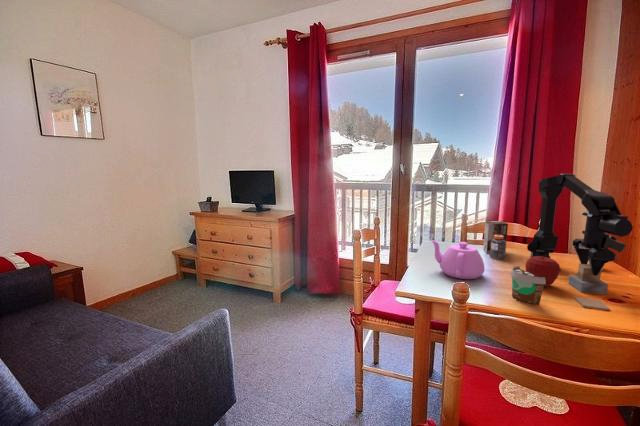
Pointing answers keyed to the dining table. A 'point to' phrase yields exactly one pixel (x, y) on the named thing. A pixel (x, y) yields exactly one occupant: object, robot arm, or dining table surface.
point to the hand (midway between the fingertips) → (589, 271)
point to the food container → (526, 286)
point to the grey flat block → (587, 285)
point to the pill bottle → (497, 247)
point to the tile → (591, 303)
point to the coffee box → (494, 233)
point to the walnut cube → (587, 273)
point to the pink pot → (460, 261)
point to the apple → (543, 268)
